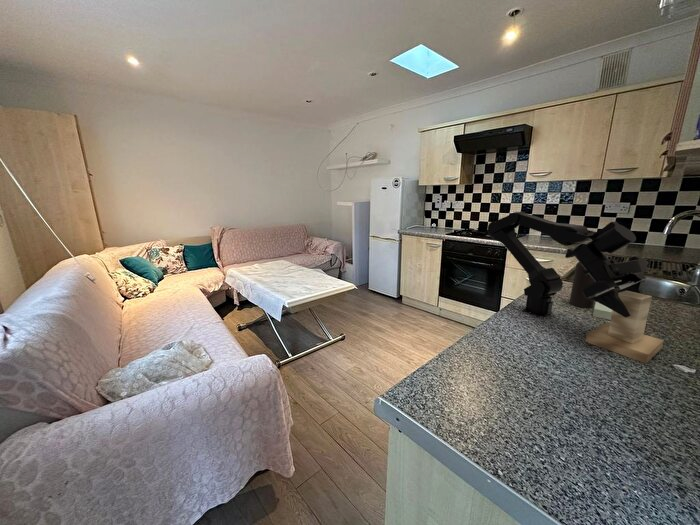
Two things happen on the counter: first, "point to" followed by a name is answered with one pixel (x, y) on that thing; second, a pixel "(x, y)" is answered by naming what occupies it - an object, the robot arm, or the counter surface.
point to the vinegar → (578, 284)
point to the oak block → (625, 344)
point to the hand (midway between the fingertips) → (637, 313)
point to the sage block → (602, 311)
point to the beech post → (630, 317)
